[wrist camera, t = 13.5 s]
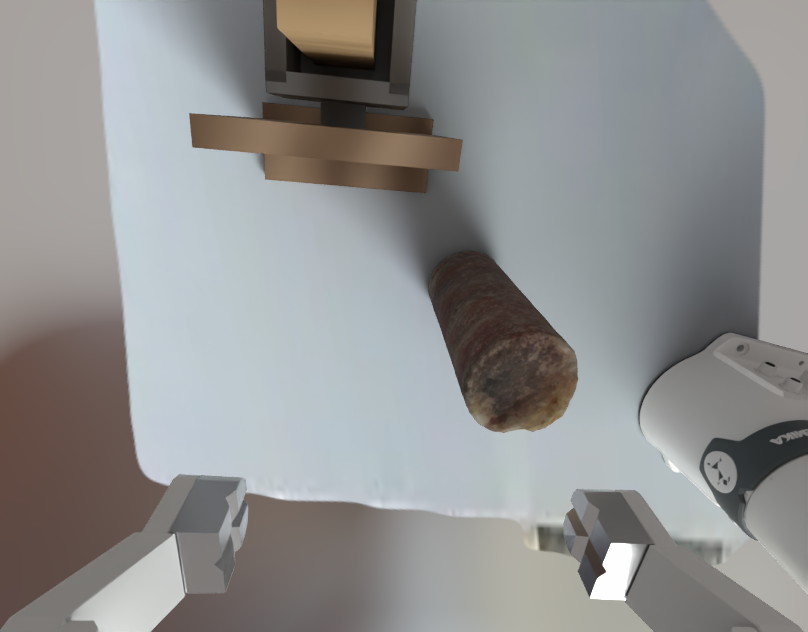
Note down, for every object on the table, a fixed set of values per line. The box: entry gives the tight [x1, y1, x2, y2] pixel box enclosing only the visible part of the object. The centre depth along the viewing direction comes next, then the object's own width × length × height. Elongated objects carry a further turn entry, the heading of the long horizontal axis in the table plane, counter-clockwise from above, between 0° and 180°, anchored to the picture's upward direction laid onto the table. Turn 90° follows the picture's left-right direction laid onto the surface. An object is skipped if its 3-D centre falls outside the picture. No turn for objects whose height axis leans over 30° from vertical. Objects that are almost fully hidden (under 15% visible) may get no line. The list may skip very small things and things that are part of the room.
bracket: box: [189, 0, 462, 193], centre depth 29 cm, size 14×15×16 cm
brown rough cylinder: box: [429, 251, 578, 433], centre depth 34 cm, size 8×7×20 cm
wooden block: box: [276, 0, 378, 71], centre depth 23 cm, size 4×4×12 cm
